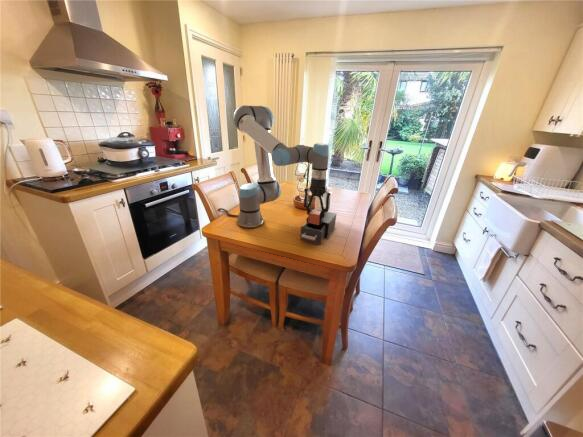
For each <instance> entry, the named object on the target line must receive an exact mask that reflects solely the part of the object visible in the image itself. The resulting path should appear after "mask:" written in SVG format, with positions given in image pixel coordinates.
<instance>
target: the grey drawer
mask: <svg viewBox="0 0 583 437" xmlns="http://www.w3.org/2000/svg"><path fill="white" fill-rule="evenodd" d="M306 222H307V221H306ZM326 232H327V224H324V223H321V224H319V225H315V224H311V223H308V222H307V223H305V224H304V225H301V226H300V237H299V238H300V239H299V240H300V241H304V242H307V243H311V244H314V245H318V246H322V243H323V240H324V239H325V238H324V237H325V236H326Z"/></svg>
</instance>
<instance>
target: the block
mask: <svg viewBox="0 0 583 437" xmlns="http://www.w3.org/2000/svg"><path fill="white" fill-rule="evenodd" d="M320 212H321V211H318V210H315V209H312V211H311V212H310V213H309V220H308V223H311V224H315V225H319V222H320Z"/></svg>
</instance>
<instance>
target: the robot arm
mask: <svg viewBox="0 0 583 437" xmlns="http://www.w3.org/2000/svg"><path fill="white" fill-rule="evenodd" d="M232 119H233V124H234V126H235V127H236V129H238V131H240V132H241V133H242V134H246V135H247V136H248V137H250V138H251V139H252V141H253V143H254V144H253V145H254V150H255V158H256V165H257V166H256V167H257V172H258V179H257V180H256V182H247V183H243V184H242V185H240V186H239V188H238V201H239V202H238V203H239V213H238V214H231V213H229V210H227V209H225V208H223V207H220V208H218V209H217V211H221V210H222V211H223V212H226V215H227V216H229V217H235V218H237V225H238V226H239V227H241V228H245V229H255V228H258V227H261V226H262V225H263V224H264V218H263V215H262V212H261V205H263V204H266V203H270V202H274V201H276V200H278V199H279V198H280V197H281V195H282V187H281V184H280V183H279V181H277V178H276V177H275V176H274V173H273V172H274V171H273V164H274V165H275V166H278V167H286V166H290V165H295V164H301V163H307V164H311V174H310V175H311V178H310V186H309V187H305V188H304V189H303V190H304V200H303V201H304V202H303V208H306V215H308V216H307V218H308V220H309V213H310V212H311V211H312V210H313V207H312V205H313V202H314V201H315V198H316V196H317V197H319V199H320V203H321V209H322V211H321V212H320V222H319V224H321V223H322V221H323V218H324V217H325V212H330V207H331V196H332V194H333V192H332V191H330V192H329V191H327V189H328V188H327V189H326V186H327V182H328V179H327V178H328V171H329V160H330V154H331V152H330V149H331V147H330V145H329V144H328V143H321V142H319V143H314V144H313V146H309V145H305V144H296V145H294V146H290V147H289V146H287V145H286V144H285V143H283V142H282V141H281V140H279V139H278V138H277V137H276V136H274V135H273V134H272V133H271V128H273V126H274V123H275V118H274V114H273V112H272V111H271V109H270V108H269V107H268V106H263V105H245V104H244V105H240V106H238V107H237V108H236V109H235V111H234V112H233V117H232ZM272 162H273V163H272ZM310 193H311V195H310ZM325 193H326V196H327V197H326V208H325V202H324V194H325ZM309 196H310V199H309Z"/></svg>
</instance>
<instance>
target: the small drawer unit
mask: <svg viewBox="0 0 583 437" xmlns="http://www.w3.org/2000/svg"><path fill="white" fill-rule="evenodd" d="M316 210H317V209H316ZM318 211H322V210H318ZM336 220H337V213H335V212H331V211H328V212H325V217H324V218H323V221H322V223H324V224H327V232H326V236H325V237H324V239H325V240H328V238H330V235H331V234H332V233H333V232H334V230H335V228H336ZM307 222H308V217H307V218H306V223H307ZM306 223H305V224H306Z"/></svg>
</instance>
